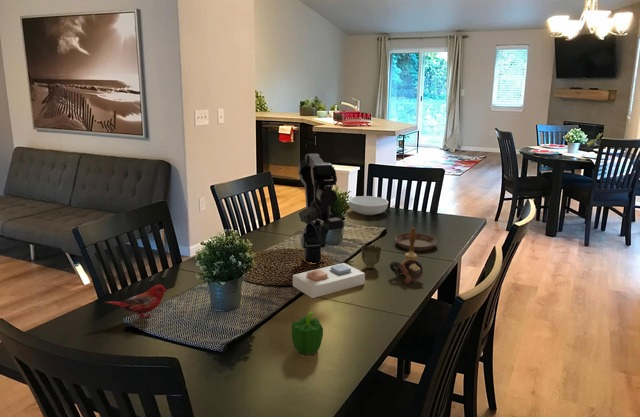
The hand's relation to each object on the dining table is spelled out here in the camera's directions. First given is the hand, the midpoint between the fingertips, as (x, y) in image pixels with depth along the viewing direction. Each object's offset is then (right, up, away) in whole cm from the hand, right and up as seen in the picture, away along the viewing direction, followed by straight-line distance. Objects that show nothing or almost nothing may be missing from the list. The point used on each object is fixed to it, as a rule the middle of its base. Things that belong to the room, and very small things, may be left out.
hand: (321, 242), depth 181 cm
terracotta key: (-1, -13, -7) cm, 15 cm away
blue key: (+7, -12, -2) cm, 14 cm away
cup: (+19, -11, +13) cm, 25 cm away
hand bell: (+34, -11, +14) cm, 38 cm away
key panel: (+3, -15, -4) cm, 15 cm away
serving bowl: (+25, +9, +90) cm, 94 cm away
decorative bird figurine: (-54, -21, -31) cm, 65 cm away
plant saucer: (+41, -4, +40) cm, 57 cm away
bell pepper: (-4, -26, -46) cm, 53 cm away
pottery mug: (+30, -14, +3) cm, 33 cm away
